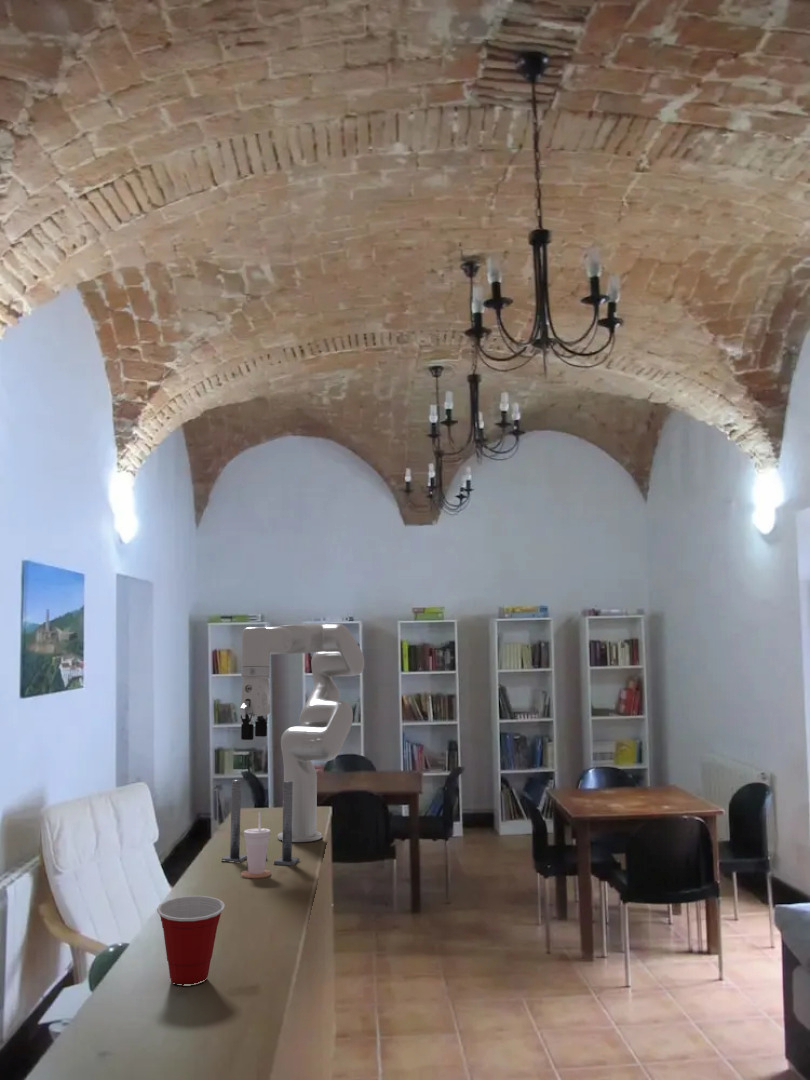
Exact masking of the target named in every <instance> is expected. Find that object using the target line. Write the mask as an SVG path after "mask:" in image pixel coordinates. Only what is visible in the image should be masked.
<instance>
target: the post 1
mask: <svg viewBox="0 0 810 1080" xmlns="http://www.w3.org/2000/svg"><path fill="white" fill-rule="evenodd" d="M230 798H231V801H230V803H231V804H230V840H229V843H230V844H229V847H230V848H229V849H230V850H229V854H227V855H226V856H224V857H222V858H221V861H222V860H225V861H234V862H233V863H236V862H240V863H242V862H244V861H245V860H244V859H246V858H247V854H241V853H240V852H241V851H240V850H241V849H240V848H241V847H240V845H241V810H242V809H241V808H242V807H241V805H242V804H241V803H242V799H241V798H242V780H241V779H233V780H231V795H230ZM243 860H244V861H243ZM246 860H247V859H246ZM241 861H242V862H241Z"/></svg>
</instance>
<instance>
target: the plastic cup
mask: <svg viewBox="0 0 810 1080" xmlns="http://www.w3.org/2000/svg"><path fill="white" fill-rule="evenodd" d="M225 905H226V904H225V903H224V902H223V901H222V900H221V899H218V898H216V897H213V896H206V895H205V896H204V895H187V896H186V895H185V896H179V897H174V898H170V899H168V900H165V901H163V902H162V903H160V904H159V905H158V906H157V909H156V911H157V913H158V915H159V917H160V922H161V926H162V931H163V937H164V938H163V939H164V945H165V946H164V947H165V953H166V959H167V964H168V971H169V972H168V973H169V978H170V981H171V982H170V983H171V984H172V983H175V984H182V985H184V984H194V983H198V982H200V981H203V980H205V979H206V978H207V979H208V976H209V973H210V966H211V961H212V958H213V953H214V947H215V941H216V935H217V931H218V925H219V922H220V919H221V914H222V913H223V912H224V908H225Z"/></svg>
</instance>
